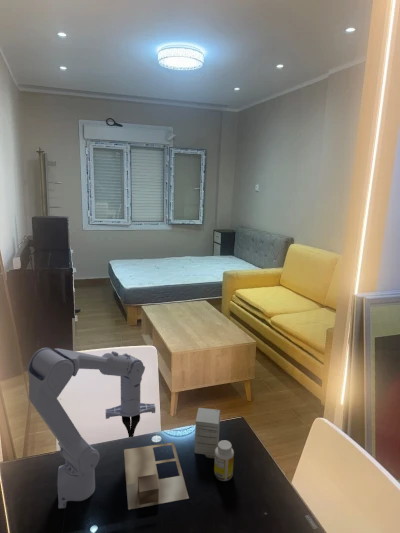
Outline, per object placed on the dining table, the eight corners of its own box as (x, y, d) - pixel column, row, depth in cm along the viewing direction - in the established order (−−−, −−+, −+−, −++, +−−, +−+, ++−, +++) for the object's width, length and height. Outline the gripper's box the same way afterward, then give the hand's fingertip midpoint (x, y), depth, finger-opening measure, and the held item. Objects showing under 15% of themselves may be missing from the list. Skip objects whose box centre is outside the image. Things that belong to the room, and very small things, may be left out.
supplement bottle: (230, 467, 110) (232, 437, 107) (234, 481, 104) (236, 451, 102) (212, 467, 109) (214, 438, 107) (215, 482, 104) (216, 452, 101)
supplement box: (197, 440, 120) (198, 406, 118) (219, 443, 120) (221, 409, 117) (193, 456, 113) (194, 421, 111) (217, 459, 112) (219, 424, 110)
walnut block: (139, 504, 94) (139, 492, 93) (137, 489, 99) (137, 477, 98) (158, 501, 95) (158, 488, 95) (156, 486, 100) (156, 474, 99)
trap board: (128, 513, 93) (128, 509, 93) (123, 452, 114) (123, 449, 113) (188, 501, 97) (188, 498, 97) (173, 445, 118) (174, 442, 117)
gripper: (153, 385, 112) (153, 423, 115) (105, 390, 108) (106, 429, 111) (156, 398, 105) (156, 438, 108) (105, 403, 102) (106, 445, 105)
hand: (130, 435), depth 109 cm, fingers closed
